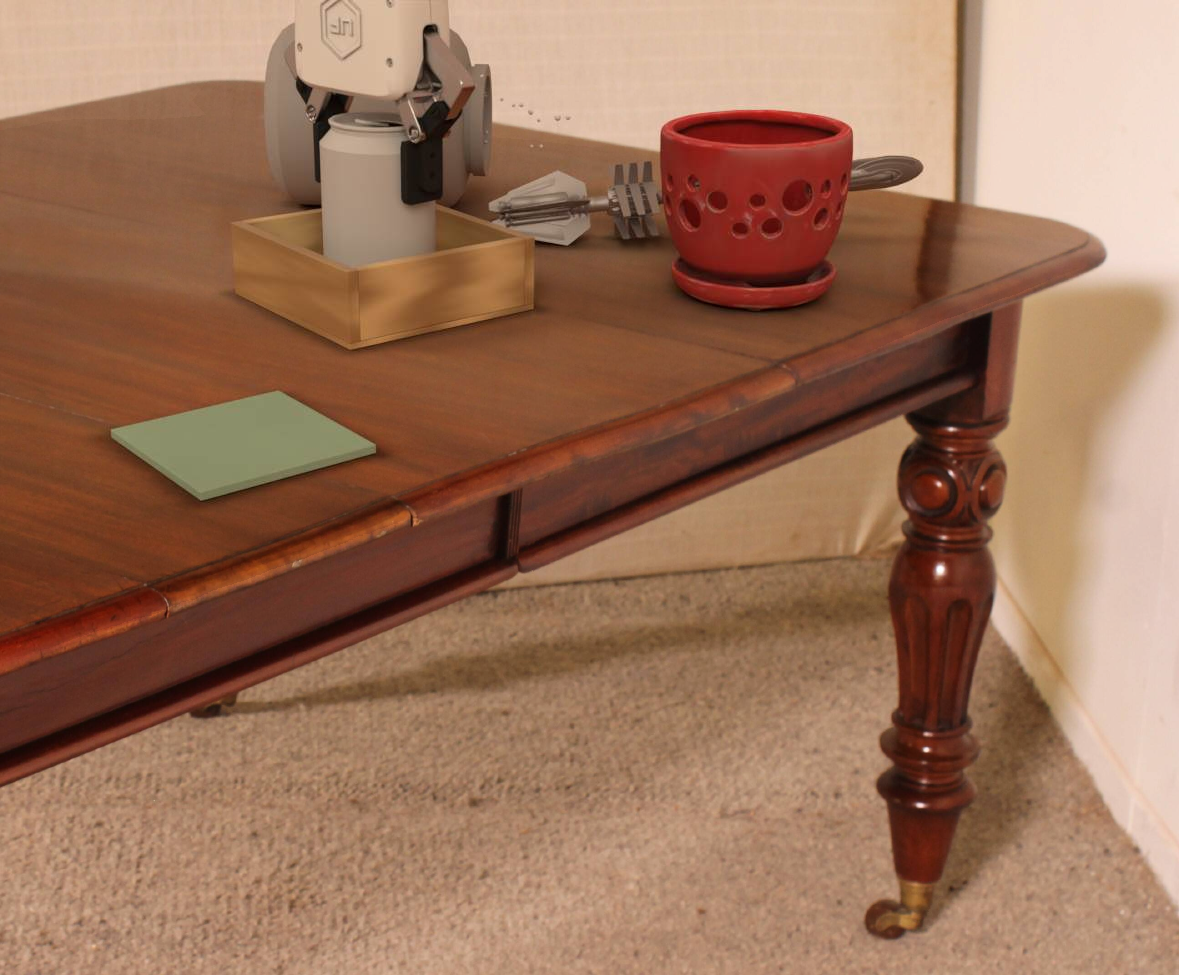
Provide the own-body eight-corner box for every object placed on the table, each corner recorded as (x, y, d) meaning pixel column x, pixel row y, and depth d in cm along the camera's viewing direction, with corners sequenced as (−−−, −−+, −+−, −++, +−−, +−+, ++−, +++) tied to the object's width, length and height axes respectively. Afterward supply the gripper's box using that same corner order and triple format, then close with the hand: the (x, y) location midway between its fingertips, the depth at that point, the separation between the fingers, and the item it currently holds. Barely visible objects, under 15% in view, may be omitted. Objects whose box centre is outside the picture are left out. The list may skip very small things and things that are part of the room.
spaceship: (947, 153, 114) (914, 97, 119) (494, 204, 110) (480, 144, 115) (930, 236, 120) (899, 179, 125) (499, 288, 116) (486, 226, 121)
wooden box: (350, 350, 92) (347, 271, 90) (235, 293, 102) (230, 222, 100) (534, 309, 101) (535, 237, 99) (411, 261, 111) (410, 194, 109)
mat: (201, 501, 72) (200, 492, 71) (111, 438, 78) (110, 429, 78) (376, 453, 78) (376, 444, 77) (278, 398, 84) (278, 389, 84)
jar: (329, 114, 137) (594, 92, 132) (313, 259, 133) (587, 242, 128) (241, -12, 120) (542, -44, 115) (219, 150, 115) (532, 125, 110)
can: (458, 293, 102) (458, 116, 98) (386, 319, 97) (383, 131, 92) (374, 274, 106) (371, 102, 101) (301, 297, 100) (293, 116, 95)
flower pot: (740, 258, 115) (752, 99, 110) (876, 299, 106) (895, 128, 101) (615, 286, 107) (621, 117, 102) (750, 333, 98) (764, 149, 93)
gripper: (232, -104, 94) (248, 177, 101) (429, -87, 84) (432, 223, 91) (323, -104, 99) (332, 162, 106) (518, -89, 89) (514, 204, 96)
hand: (378, 189), depth 98 cm, fingers closed on can, 7 cm apart
